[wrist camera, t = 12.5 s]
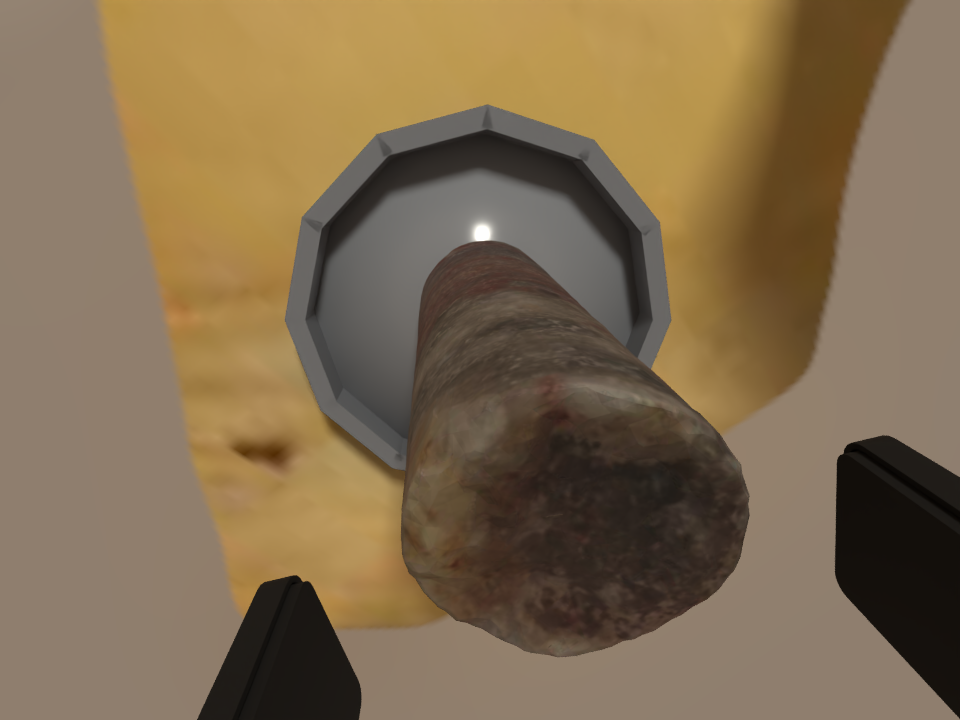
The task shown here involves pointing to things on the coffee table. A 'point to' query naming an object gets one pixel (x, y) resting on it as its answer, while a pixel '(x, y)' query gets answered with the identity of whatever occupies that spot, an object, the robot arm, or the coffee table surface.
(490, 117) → the round tray
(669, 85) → the coffee table surface
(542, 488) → the mottled brown cylinder
